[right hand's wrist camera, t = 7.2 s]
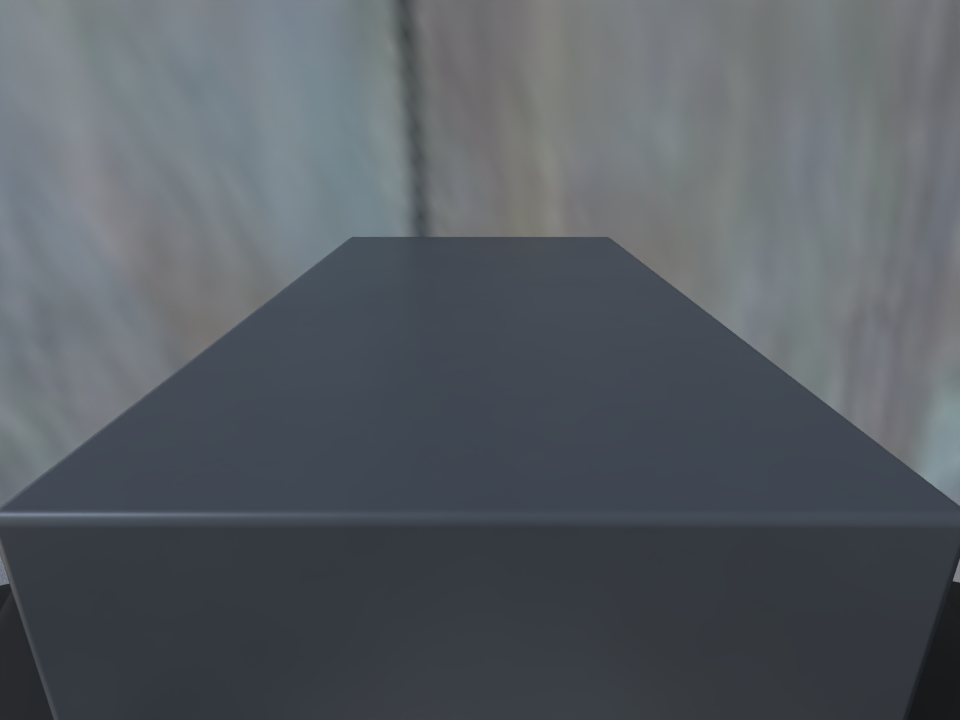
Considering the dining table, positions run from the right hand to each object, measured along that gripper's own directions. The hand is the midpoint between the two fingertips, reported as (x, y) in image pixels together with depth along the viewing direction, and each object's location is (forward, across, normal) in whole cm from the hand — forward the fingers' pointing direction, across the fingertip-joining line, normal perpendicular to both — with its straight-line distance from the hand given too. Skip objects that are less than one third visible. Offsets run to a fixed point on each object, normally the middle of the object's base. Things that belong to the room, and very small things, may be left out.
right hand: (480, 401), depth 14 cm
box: (+2, 0, -9) cm, 9 cm away
